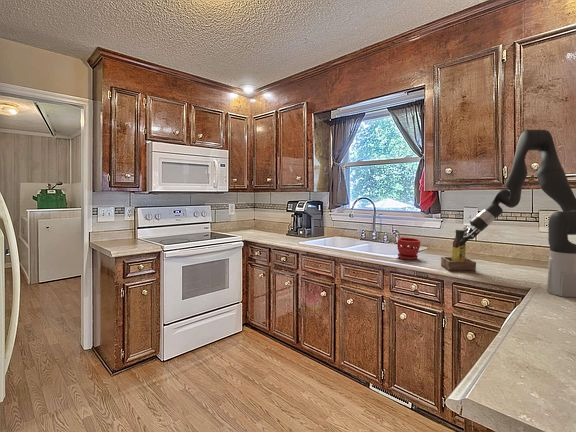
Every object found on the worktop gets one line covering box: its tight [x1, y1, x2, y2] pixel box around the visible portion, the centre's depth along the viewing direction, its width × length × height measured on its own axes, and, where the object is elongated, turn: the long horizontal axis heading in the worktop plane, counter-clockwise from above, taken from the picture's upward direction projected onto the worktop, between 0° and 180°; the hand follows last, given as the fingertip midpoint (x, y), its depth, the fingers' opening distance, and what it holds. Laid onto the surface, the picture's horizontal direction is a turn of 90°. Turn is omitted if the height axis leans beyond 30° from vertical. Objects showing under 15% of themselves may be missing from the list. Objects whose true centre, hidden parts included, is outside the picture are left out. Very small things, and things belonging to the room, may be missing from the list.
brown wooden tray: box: [440, 256, 477, 273], centre depth 172 cm, size 12×13×5 cm
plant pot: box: [396, 237, 421, 261], centre depth 198 cm, size 13×13×12 cm
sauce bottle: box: [451, 229, 467, 262], centre depth 171 cm, size 7×6×20 cm
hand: (457, 241), depth 171 cm, fingers open, 8 cm apart
